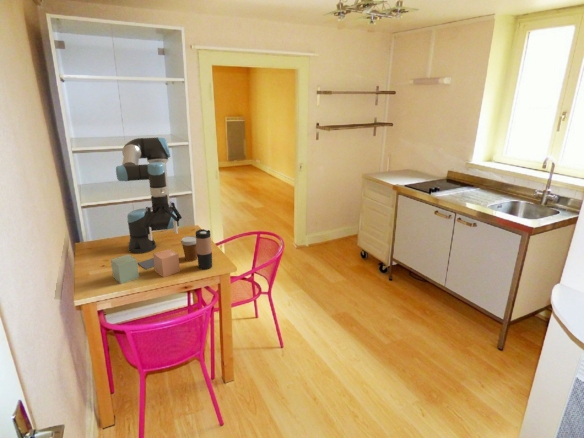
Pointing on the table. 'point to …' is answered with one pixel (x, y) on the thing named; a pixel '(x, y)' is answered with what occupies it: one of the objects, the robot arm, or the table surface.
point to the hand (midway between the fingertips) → (163, 236)
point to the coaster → (147, 263)
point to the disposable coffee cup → (189, 248)
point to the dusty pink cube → (166, 262)
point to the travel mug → (204, 249)
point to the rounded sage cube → (124, 268)
